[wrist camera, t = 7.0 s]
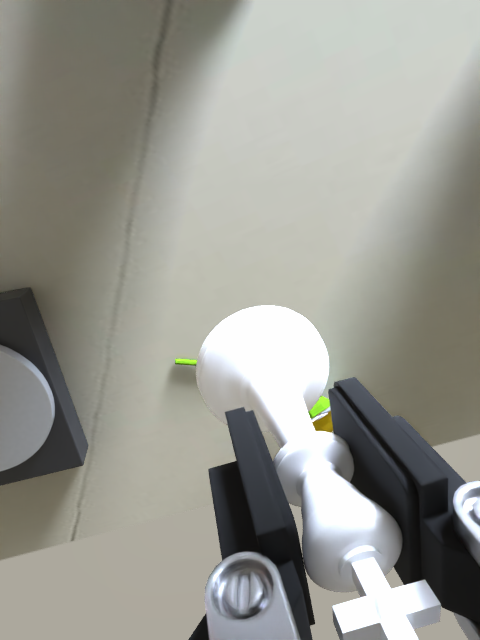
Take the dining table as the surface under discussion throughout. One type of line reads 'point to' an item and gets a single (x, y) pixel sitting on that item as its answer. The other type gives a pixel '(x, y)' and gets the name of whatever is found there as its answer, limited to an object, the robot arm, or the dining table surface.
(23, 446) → the scale
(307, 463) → the chess piece
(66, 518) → the dining table surface
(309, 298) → the dining table surface
